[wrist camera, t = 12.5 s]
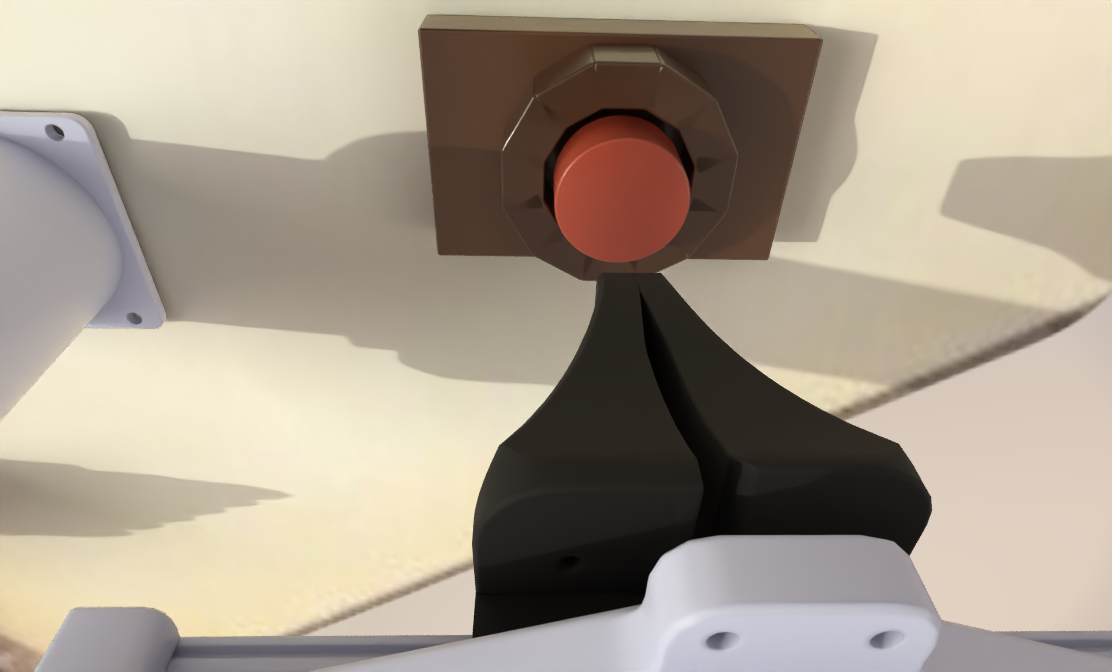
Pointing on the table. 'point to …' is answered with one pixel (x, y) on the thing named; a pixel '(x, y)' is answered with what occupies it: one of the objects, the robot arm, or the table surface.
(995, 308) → the table surface
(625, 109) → the bell block
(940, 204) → the table surface
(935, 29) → the table surface
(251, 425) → the table surface
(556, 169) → the bell button
